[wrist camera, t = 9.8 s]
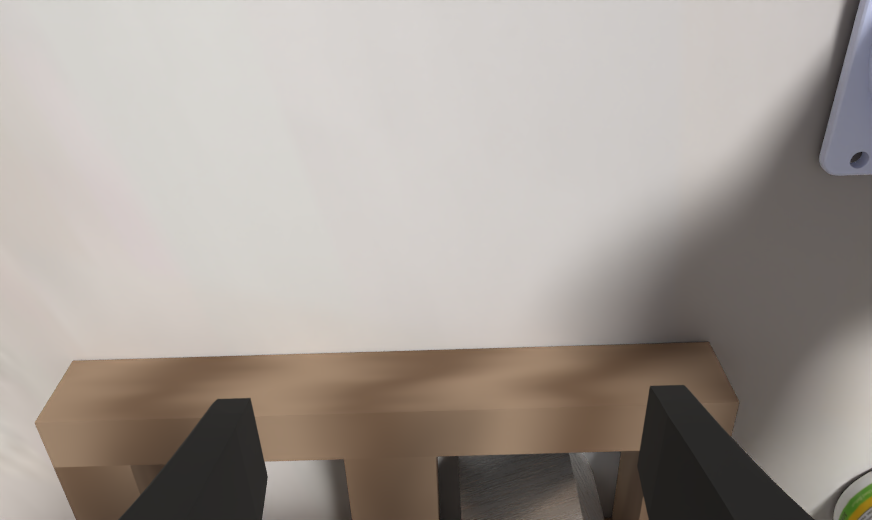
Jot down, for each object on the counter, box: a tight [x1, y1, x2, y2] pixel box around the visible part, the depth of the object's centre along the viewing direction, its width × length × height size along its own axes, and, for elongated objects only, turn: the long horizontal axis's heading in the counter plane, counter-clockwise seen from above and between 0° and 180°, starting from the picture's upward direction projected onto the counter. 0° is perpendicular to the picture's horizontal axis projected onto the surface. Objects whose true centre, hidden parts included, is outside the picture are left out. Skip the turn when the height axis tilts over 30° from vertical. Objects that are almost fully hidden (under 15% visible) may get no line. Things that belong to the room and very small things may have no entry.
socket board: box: [35, 342, 739, 520], centre depth 28 cm, size 22×11×3 cm, turn 92°
